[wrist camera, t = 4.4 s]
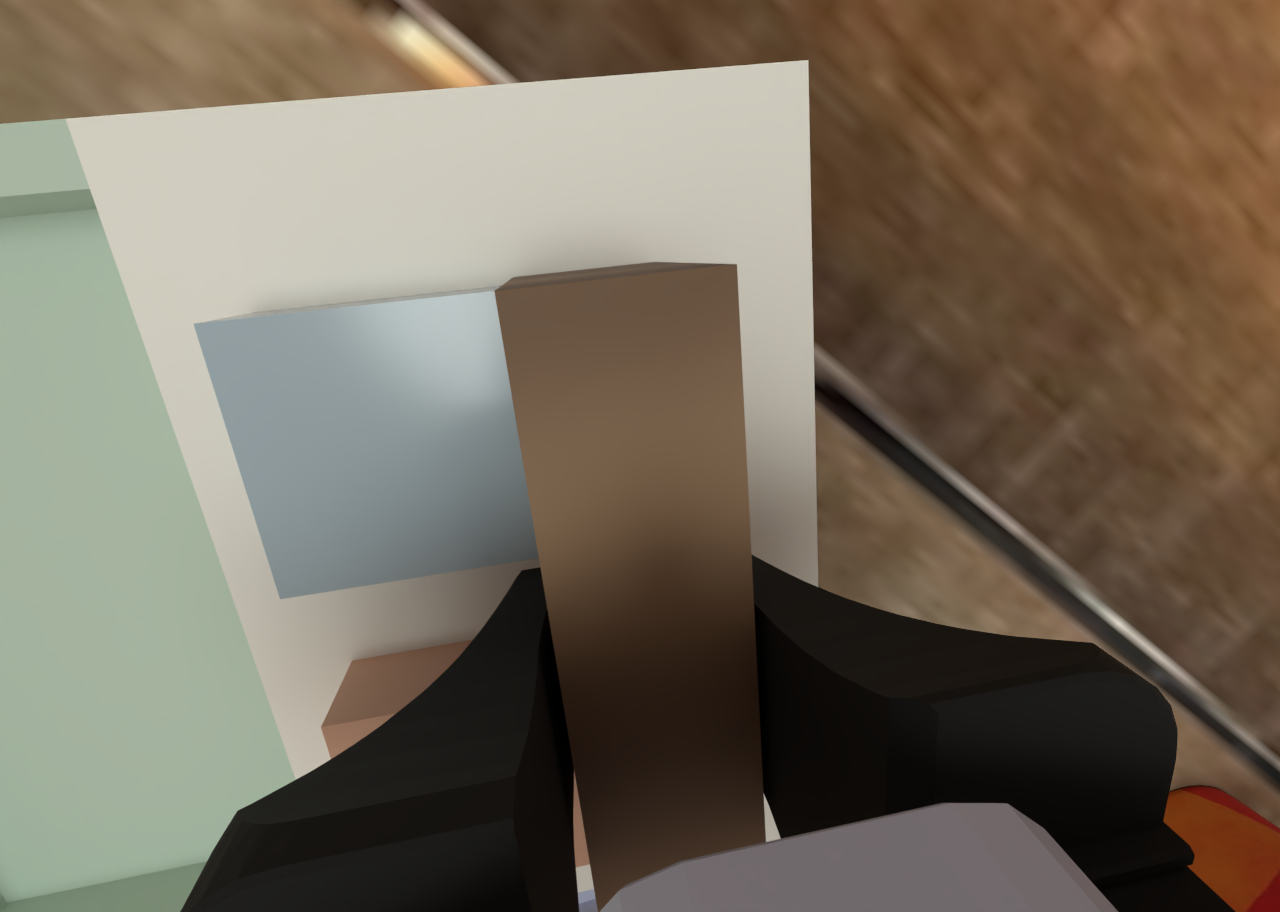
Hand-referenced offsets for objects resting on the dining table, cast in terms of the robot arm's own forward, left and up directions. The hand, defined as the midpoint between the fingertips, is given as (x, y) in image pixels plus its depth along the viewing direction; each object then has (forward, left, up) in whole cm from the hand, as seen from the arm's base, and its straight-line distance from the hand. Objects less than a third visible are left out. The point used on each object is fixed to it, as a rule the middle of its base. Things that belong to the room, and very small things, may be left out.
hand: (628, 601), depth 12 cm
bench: (0, +2, -5) cm, 5 cm away
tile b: (+4, +4, -2) cm, 5 cm away
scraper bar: (0, 0, -1) cm, 1 cm away
